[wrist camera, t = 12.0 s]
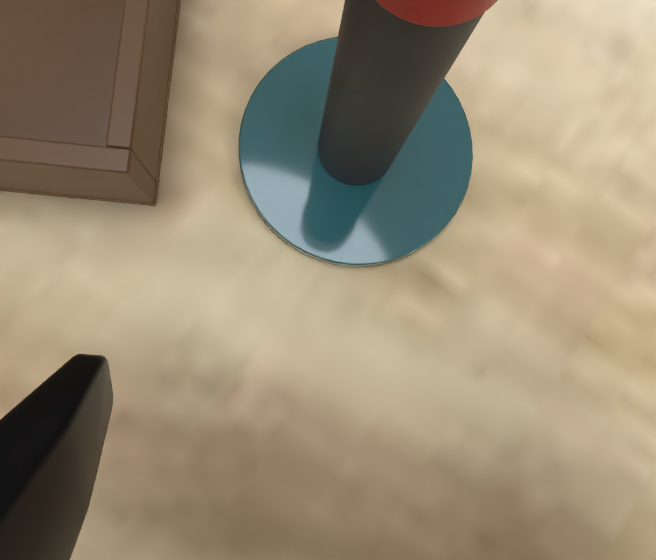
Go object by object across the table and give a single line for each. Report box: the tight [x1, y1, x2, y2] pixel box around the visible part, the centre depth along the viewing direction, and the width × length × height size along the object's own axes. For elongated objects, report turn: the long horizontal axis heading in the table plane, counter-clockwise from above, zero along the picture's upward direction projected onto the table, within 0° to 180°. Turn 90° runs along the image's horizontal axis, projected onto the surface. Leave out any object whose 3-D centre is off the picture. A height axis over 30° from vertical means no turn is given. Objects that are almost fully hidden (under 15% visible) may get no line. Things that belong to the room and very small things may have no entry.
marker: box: [318, 0, 497, 185], centre depth 14 cm, size 3×3×14 cm
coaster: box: [239, 37, 473, 267], centre depth 21 cm, size 8×8×1 cm
